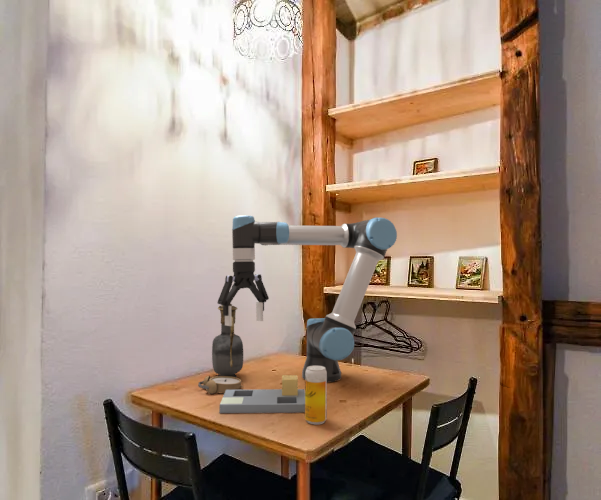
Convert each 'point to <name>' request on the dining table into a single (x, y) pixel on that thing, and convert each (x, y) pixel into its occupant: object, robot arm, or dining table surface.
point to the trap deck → (262, 401)
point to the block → (289, 385)
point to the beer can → (315, 394)
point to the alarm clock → (220, 384)
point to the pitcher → (227, 348)
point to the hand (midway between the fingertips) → (244, 323)
